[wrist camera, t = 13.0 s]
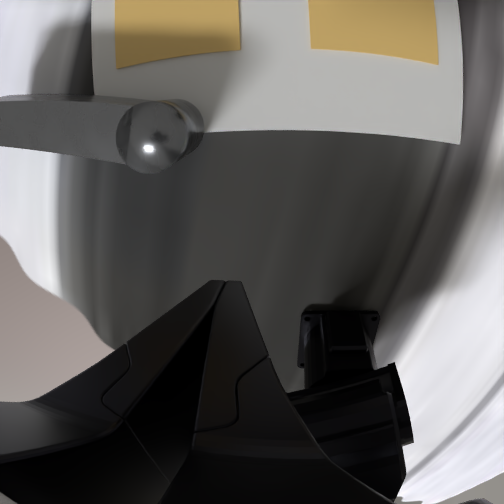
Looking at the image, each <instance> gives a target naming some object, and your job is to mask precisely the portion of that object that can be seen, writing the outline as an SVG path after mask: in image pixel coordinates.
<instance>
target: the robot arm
mask: <svg viewBox="0 0 504 504" xmlns="http://www.w3.org/2000/svg"><path fill="white" fill-rule="evenodd" d="M374 316H376V317H375V318H372V317H374ZM305 317H309V318H305ZM379 321H380V315H379V313H378V312H377V311H305V312H303V313H302V314H301V323H300V337H299V349H298V361H297V365H298V367H299V368H304V375H305V389H303V390H299V391H294V392H290V393H287V392H285V390H284V388H283V386H282V385H281V382H280V380H279V378H278V376H277V373H276V371H275V369H274V366H273V364H272V361H271V359H270V357H269V354H268V351H267V349H266V346H265V343H264V341H263V338H262V335H261V333H260V330H259V327H258V325H257V322H256V319H255V317H254V314H253V311H252V309H251V306H250V303H249V300H248V298H247V295H246V292H245V290H244V287H243V284H242V282H241V281H226V282H225V281H223V280H210V281H209V282H207V283H206V284H205V285H203V286H202V287H201V288H199V289H198V290H197V291H195V292H194V293H192V294H191V295H190V296H188V297H187V298H186V299H184V300H183V301H182V302H180V303H179V304H177V305H176V306H175V307H173V308H172V309H171V310H169V311H168V312H167V313H165V314H164V315H162V316H161V317H160V318H158V319H157V320H156V321H154V322H153V323H152V324H150V325H149V326H148V327H146V328H145V329H143V330H142V331H141V332H139V333H138V334H137V335H135V336H134V337H133V338H131V339H130V340H128V341H127V342H126V344H123V345H122V346H120V347H119V348H117V349H116V350H115V351H113V352H112V353H111V354H109V355H108V356H106V357H105V358H103V359H102V360H101V361H99V362H98V363H96V364H94V365H93V366H91V367H90V368H88V369H86V370H85V371H83V372H82V373H80V374H78V375H77V376H75V377H73V378H72V379H70V380H68V381H67V382H65V383H63V384H61V385H60V386H58V387H57V388H55V389H53V390H51V391H50V392H48V393H46V394H44V395H43V396H41V397H39V398H36V399H34V400H30V401H25V402H0V504H396V503H394V500H395V499H396V497H397V495H398V492H399V490H400V488H401V486H402V484H403V482H404V479H405V477H406V467H405V460H404V454H403V449H402V446H405V445H408V444H411V443H414V440H413V432H412V427H411V421H410V416H409V412H408V407H407V403H406V399H405V395H404V392H403V388H402V385H401V382H400V378H399V375H398V372H397V368H396V365H395V362H394V363H391V364H388V366H386V367H383V368H379V369H378V368H377V364H376V360H375V355H374V351H373V347H372V346H373V343H374V339H375V336H376V332H377V328H378V324H379ZM460 504H492V503H491V502H489V501H488V500H486V499H484V498H482V499H474V500H470V501H467V502H464V503H460Z"/></svg>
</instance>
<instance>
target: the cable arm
mask: <svg viewBox="0 0 504 504" xmlns="http://www.w3.org/2000/svg"><path fill="white" fill-rule="evenodd" d="M203 134H204V121H203V118H202V115H201V113H200V112H199V110H198V109H197V108H196V107H195V106H194V105H193V104H191V103H190V102H188V101H185V100H182V99H168V100H158V101H153V100H144V99H134V98H123V97H110V96H95V95H69V94H30V95H9V96H3V97H0V146H5V147H14V148H22V149H30V150H38V151H46V152H53V153H60V154H67V155H73V156H80V157H86V158H93V159H99V160H105V161H110V162H116V163H122V164H127V165H128V166H129V167H131V168H132V169H134V170H135V171H138V172H141V173H145V174H154V173H158V172H161V171H164V170H165V169H167V168H169V167H170V166H172V165H173V164H174V163H176V162H177V161H179V160H180V159H182V158H183V157H185V156H186V155H188V154H189V153H191V152H192V151H194V150H195V149H196V148H197V147H198V145H199V144H200V142H201V140H202V138H203Z"/></svg>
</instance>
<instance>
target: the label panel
mask: <svg viewBox="0 0 504 504" xmlns="http://www.w3.org/2000/svg"><path fill="white" fill-rule="evenodd" d="M91 36H92V67H93V84H94V95H95V96H110V97H123V98H134V99H144V100H153V101H158V100H168V99H182V100H185V101H188V102H190V103H191V104H193V105H194V106H195V107H196V108H197V109H198V110H199V112H200V113H201V115H202V118H203V121H204V132H221V131H244V130H319V131H342V132H358V133H371V134H383V135H393V136H402V137H411V138H419V139H426V140H434V141H440V142H447V143H453V144H459V145H460V140H461V127H462V108H463V57H462V39H461V27H460V17H459V9H458V1H457V0H92V16H91Z"/></svg>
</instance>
